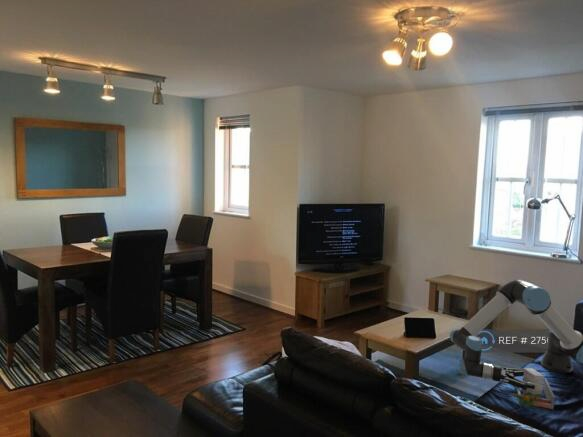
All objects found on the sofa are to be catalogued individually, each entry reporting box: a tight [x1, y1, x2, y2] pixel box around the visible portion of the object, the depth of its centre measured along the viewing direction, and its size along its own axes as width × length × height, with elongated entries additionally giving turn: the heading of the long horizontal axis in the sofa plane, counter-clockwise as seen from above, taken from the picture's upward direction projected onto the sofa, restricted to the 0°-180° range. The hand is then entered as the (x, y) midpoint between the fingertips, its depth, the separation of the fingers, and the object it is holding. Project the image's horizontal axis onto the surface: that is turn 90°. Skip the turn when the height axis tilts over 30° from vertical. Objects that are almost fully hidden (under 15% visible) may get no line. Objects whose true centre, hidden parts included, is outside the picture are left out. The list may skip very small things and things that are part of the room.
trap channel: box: [514, 378, 556, 410], centre depth 227 cm, size 14×19×6 cm
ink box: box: [520, 367, 545, 398], centre depth 228 cm, size 8×5×12 cm, turn 10°
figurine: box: [509, 390, 538, 411], centre depth 216 cm, size 3×12×8 cm, turn 61°
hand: (541, 382), depth 227 cm, fingers open, 12 cm apart
